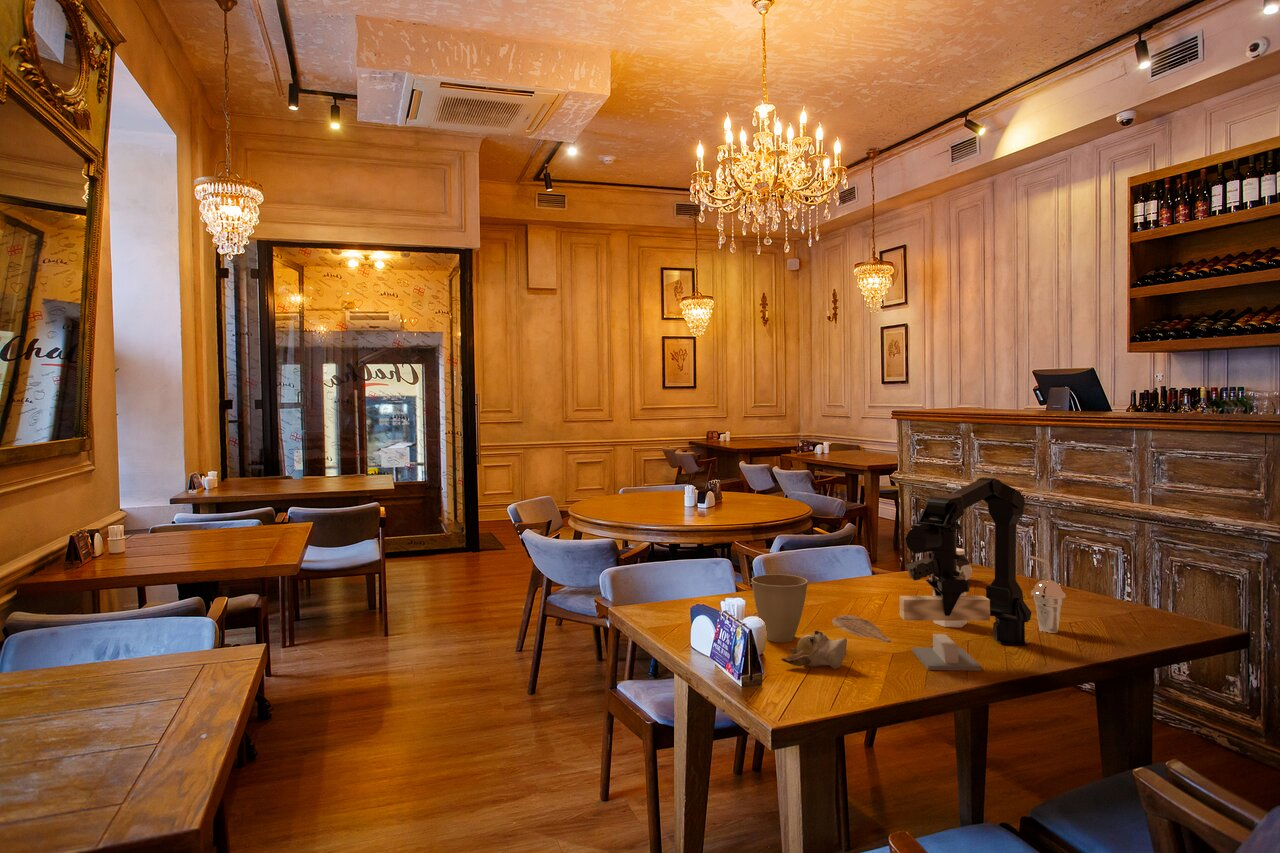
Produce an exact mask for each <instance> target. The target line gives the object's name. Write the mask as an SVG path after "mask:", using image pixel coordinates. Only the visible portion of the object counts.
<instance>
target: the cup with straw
mask: <svg viewBox="0 0 1280 853" xmlns="http://www.w3.org/2000/svg"><path fill="white" fill-rule="evenodd" d="M1028 558H1029V559H1032V560H1036V561H1040V562H1043V563H1045V564H1046V579H1043V580H1040V581H1038V582H1037V583H1036V584H1035V585H1034V587H1033V589H1031V590H1030V595H1031V596H1033V600H1034V604H1035V610H1036V611H1035V612H1036V618H1037V624H1038V626H1039V628H1038V631H1040V632H1042V631H1043V633H1046V632H1048V634H1056V633H1059V630H1058V629H1059V625H1060V616H1061V609H1062V604H1063V599H1065V598H1066V597H1067V596H1066V593H1065V592H1064V591H1063V589H1062V587H1061V586H1060V585H1059V583H1058V582H1055V581H1054V580H1051V579H1050V578H1051V576H1050V575H1051V573H1050V572H1051V570H1050V569H1051V567H1050V566H1051V565H1050V562H1049V561H1048V560H1047V559H1044V558H1041V557H1036V556H1034V555H1030V554H1029V555H1028Z"/></svg>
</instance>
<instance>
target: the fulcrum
mask: <svg viewBox="0 0 1280 853" xmlns="http://www.w3.org/2000/svg"><path fill="white" fill-rule="evenodd" d="M911 648H912V653H913V654H914V656H915V657H916V658H918V660H919V661H920V662H921V663H922V665H923V666H924V667H925V669H927V671H966V672H967V671H971V672H973V671H974V672H975V671H977V672H980V671H982V666H981V664H980V663H978V661H977V660H975V659H974V658H973V657H972V656H971V655H970V654H969V653H968V652H967V651H965V649H963V648H962V647H959V646H958V645H957V643H955V641H953V640H952V639H951V638H950V637H949V636H948V635H947V634H945V633H932V647H911Z"/></svg>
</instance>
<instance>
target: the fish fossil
mask: <svg viewBox="0 0 1280 853" xmlns="http://www.w3.org/2000/svg"><path fill="white" fill-rule="evenodd" d="M831 624H832V625H833V626H835V627H837V628H839V629H840V630H843V631H845V632H847V633H849V634H851V635H854V636H856V637H859V638H863V637H865V638H871V639H876V640H880V641H881V642H882V643H891V641H892V640H891V639H890V638H889V637H888V636H887V635H885V634H884V633H883V632H882V630H880V628H878V627H877V626H876V625H875V624H874V623H873V622H871V621H870V620H867V619H864V618H862V617H859V616H856V615H851V614H849V615H848V614H843V615H839V616H836V617H833V619H832V620H831Z"/></svg>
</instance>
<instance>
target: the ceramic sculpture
mask: <svg viewBox="0 0 1280 853" xmlns="http://www.w3.org/2000/svg"><path fill="white" fill-rule="evenodd" d="M847 644H848V639H847V638H846V637H845V638H840V639H830V638H829V637H828V636H827V635H826V634H825V633H823V632H822V631H819V630H815V631H814V633H813V634H806V635H804V636H802V637H801V638H800V639H799V640H798V642H797V645H796V648H795V647H794V648H793V647H788V651H790V652H791V653H792V654H790V655H788V657H783V658H781V659H780V660H781V661H782V662H784V663H786V664H789V665H791V666H794V667H795V666H796V667H803V666H807V667H821V666H830V667H831V668H832V669H834V670H836V669H840V668H841V666H842V664H843V662H844V661H843V660H844V658H845V657H846V653H847Z"/></svg>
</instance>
